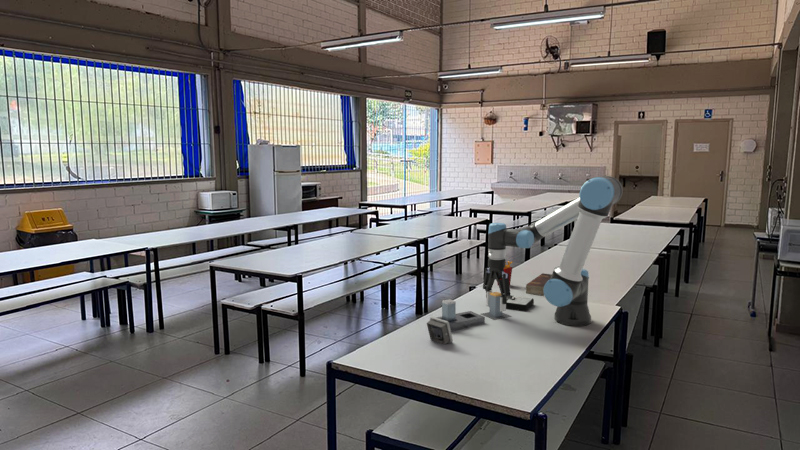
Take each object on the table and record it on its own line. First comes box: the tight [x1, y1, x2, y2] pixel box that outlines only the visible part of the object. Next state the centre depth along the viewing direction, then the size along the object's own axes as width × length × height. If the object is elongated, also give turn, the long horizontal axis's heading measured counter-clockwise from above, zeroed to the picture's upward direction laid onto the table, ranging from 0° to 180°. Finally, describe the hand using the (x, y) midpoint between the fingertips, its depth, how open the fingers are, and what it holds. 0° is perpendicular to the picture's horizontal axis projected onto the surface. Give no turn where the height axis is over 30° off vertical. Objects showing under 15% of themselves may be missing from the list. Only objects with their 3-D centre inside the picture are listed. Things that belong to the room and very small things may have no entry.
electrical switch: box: [426, 316, 454, 345], centre depth 206 cm, size 9×5×9 cm, turn 44°
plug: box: [489, 291, 503, 317], centre depth 237 cm, size 4×4×10 cm
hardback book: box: [525, 272, 552, 296], centre depth 282 cm, size 29×19×5 cm, turn 149°
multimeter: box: [506, 294, 535, 312], centre depth 253 cm, size 13×19×5 cm
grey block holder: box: [435, 299, 486, 332], centre depth 226 cm, size 10×20×11 cm, turn 119°
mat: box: [480, 311, 512, 321], centre depth 238 cm, size 10×10×1 cm
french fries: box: [496, 260, 514, 286], centre depth 291 cm, size 9×8×15 cm
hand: (495, 308), depth 237 cm, fingers open, 9 cm apart
